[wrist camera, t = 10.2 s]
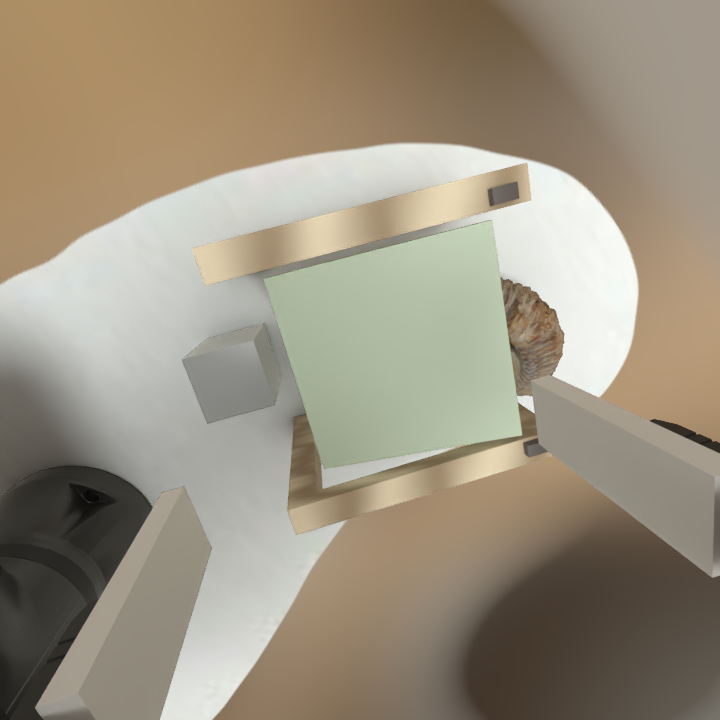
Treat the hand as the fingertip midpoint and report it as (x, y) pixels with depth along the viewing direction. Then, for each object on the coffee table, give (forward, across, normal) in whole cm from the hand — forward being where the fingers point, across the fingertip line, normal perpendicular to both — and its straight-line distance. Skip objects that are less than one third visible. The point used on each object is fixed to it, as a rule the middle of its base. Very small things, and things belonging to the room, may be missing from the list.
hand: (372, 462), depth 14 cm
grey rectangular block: (+21, -8, 0) cm, 23 cm away
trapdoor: (+14, +5, 0) cm, 15 cm away
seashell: (+25, +16, -5) cm, 30 cm away
